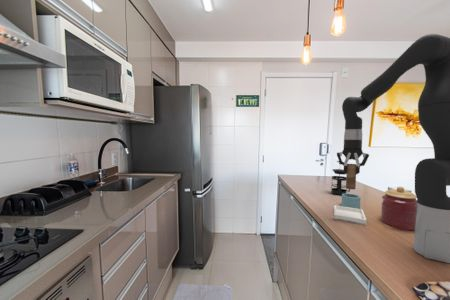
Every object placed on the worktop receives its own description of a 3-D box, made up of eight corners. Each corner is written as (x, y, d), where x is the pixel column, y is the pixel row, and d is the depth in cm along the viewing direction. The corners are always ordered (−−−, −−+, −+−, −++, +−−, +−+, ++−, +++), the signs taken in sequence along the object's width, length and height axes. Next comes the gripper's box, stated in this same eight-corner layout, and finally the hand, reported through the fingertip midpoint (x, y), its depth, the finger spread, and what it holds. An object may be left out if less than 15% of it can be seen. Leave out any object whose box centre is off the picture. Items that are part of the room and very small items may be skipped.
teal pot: (360, 211, 108) (361, 199, 108) (341, 208, 112) (342, 196, 112) (358, 206, 116) (359, 194, 115) (341, 204, 120) (341, 192, 119)
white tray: (366, 225, 92) (366, 220, 92) (333, 219, 98) (334, 214, 98) (362, 214, 105) (362, 209, 105) (334, 209, 111) (334, 205, 111)
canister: (421, 234, 84) (424, 192, 83) (382, 226, 91) (384, 188, 90) (413, 222, 95) (415, 185, 94) (378, 216, 102) (380, 182, 101)
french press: (330, 195, 137) (331, 161, 135) (329, 191, 146) (330, 160, 144) (350, 197, 132) (352, 162, 131) (348, 193, 141) (350, 161, 139)
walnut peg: (355, 189, 98) (356, 165, 97) (346, 188, 100) (347, 164, 99) (355, 187, 101) (356, 164, 100) (345, 186, 103) (346, 163, 102)
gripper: (336, 138, 99) (334, 173, 100) (371, 139, 92) (369, 176, 93) (336, 138, 105) (335, 171, 107) (369, 138, 99) (367, 173, 100)
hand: (351, 173), depth 100 cm, fingers closed on walnut peg, 4 cm apart
